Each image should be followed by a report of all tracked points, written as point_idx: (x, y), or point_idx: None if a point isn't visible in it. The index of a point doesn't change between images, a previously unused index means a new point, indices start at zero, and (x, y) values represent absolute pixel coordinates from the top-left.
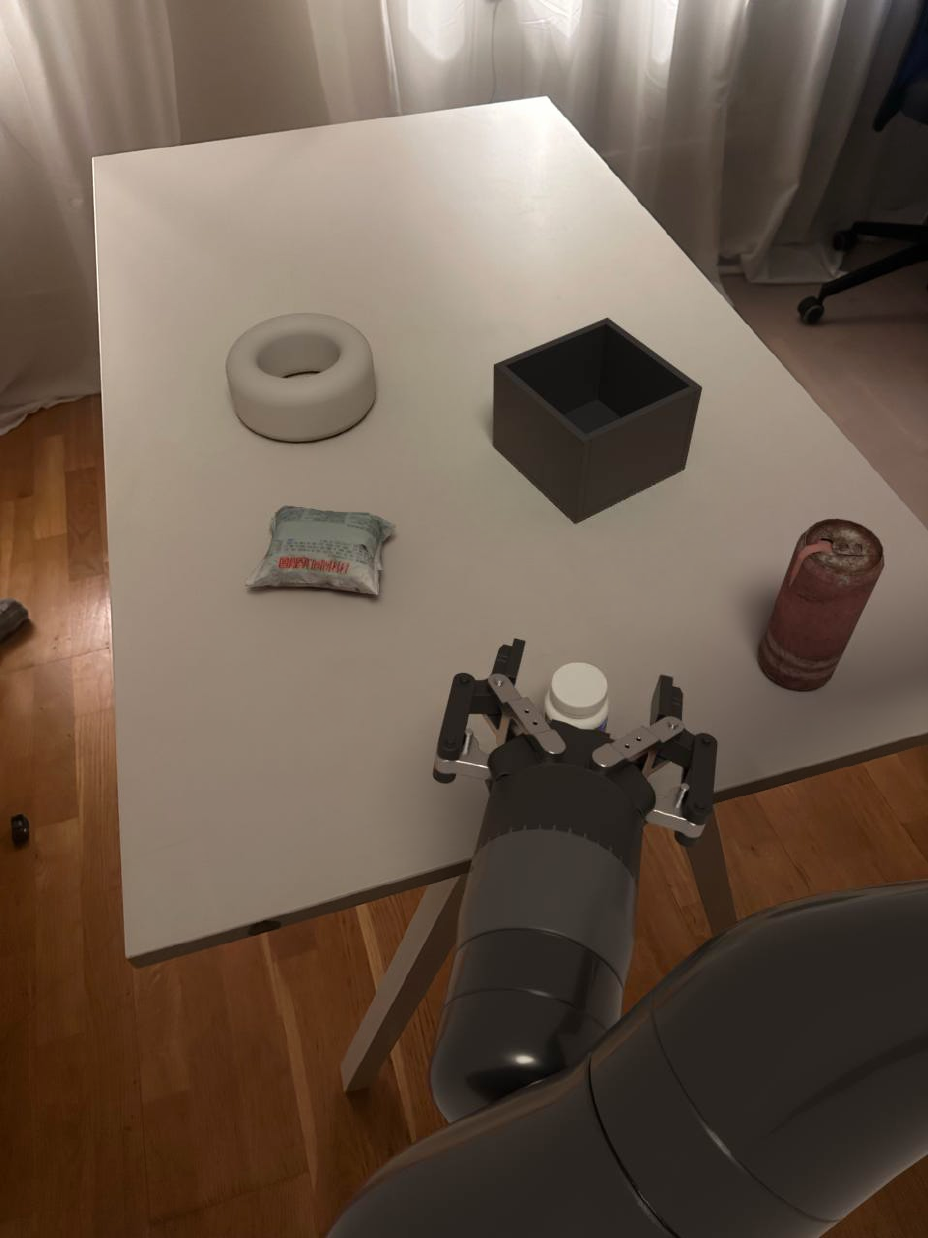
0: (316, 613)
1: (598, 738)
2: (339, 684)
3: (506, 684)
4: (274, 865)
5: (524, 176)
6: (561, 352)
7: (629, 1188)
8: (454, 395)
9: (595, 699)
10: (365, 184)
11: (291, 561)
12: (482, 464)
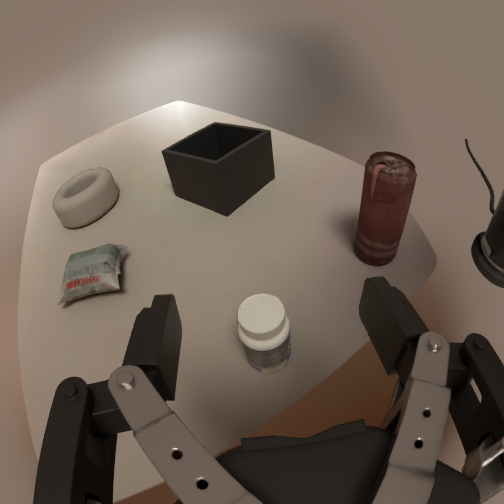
0: (94, 310)
1: (349, 445)
2: (110, 351)
3: (138, 385)
4: None
5: (176, 115)
6: (196, 139)
7: None
8: (154, 182)
9: (278, 320)
10: (118, 135)
11: (72, 283)
12: (171, 205)
